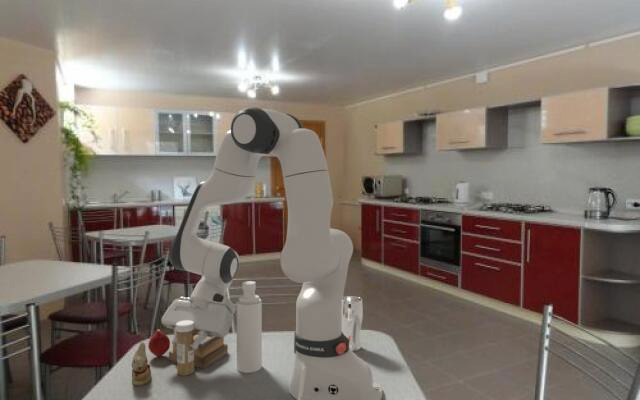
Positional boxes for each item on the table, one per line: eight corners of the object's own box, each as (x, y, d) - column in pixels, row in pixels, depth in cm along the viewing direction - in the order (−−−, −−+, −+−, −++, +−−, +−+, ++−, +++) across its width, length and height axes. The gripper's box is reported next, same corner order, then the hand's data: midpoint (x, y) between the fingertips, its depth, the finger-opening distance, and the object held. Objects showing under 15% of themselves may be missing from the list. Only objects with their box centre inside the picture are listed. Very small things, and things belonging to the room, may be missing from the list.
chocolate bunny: (122, 386, 110) (121, 346, 109) (140, 372, 118) (139, 335, 117) (142, 388, 109) (142, 348, 109) (159, 373, 117) (158, 336, 116)
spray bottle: (232, 367, 121) (231, 276, 120) (253, 360, 126) (252, 272, 124) (245, 375, 116) (244, 281, 115) (266, 368, 121) (266, 277, 119)
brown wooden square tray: (227, 352, 131) (227, 332, 130) (204, 368, 120) (204, 346, 120) (194, 346, 135) (194, 327, 135) (169, 360, 125) (168, 339, 125)
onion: (173, 353, 130) (173, 326, 130) (164, 361, 124) (164, 333, 124) (154, 352, 131) (154, 325, 130) (144, 360, 125) (144, 332, 124)
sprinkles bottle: (196, 373, 117) (196, 323, 116) (179, 377, 115) (178, 326, 114) (191, 367, 121) (190, 318, 120) (174, 371, 118) (173, 321, 118)
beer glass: (335, 345, 137) (335, 297, 136) (355, 341, 140) (355, 294, 139) (346, 353, 130) (346, 303, 130) (366, 349, 133) (367, 300, 132)
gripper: (171, 290, 127) (146, 335, 119) (232, 298, 119) (210, 347, 111) (181, 301, 131) (158, 345, 123) (241, 310, 124) (221, 357, 115)
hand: (183, 346), depth 117 cm, fingers closed on sprinkles bottle, 4 cm apart
